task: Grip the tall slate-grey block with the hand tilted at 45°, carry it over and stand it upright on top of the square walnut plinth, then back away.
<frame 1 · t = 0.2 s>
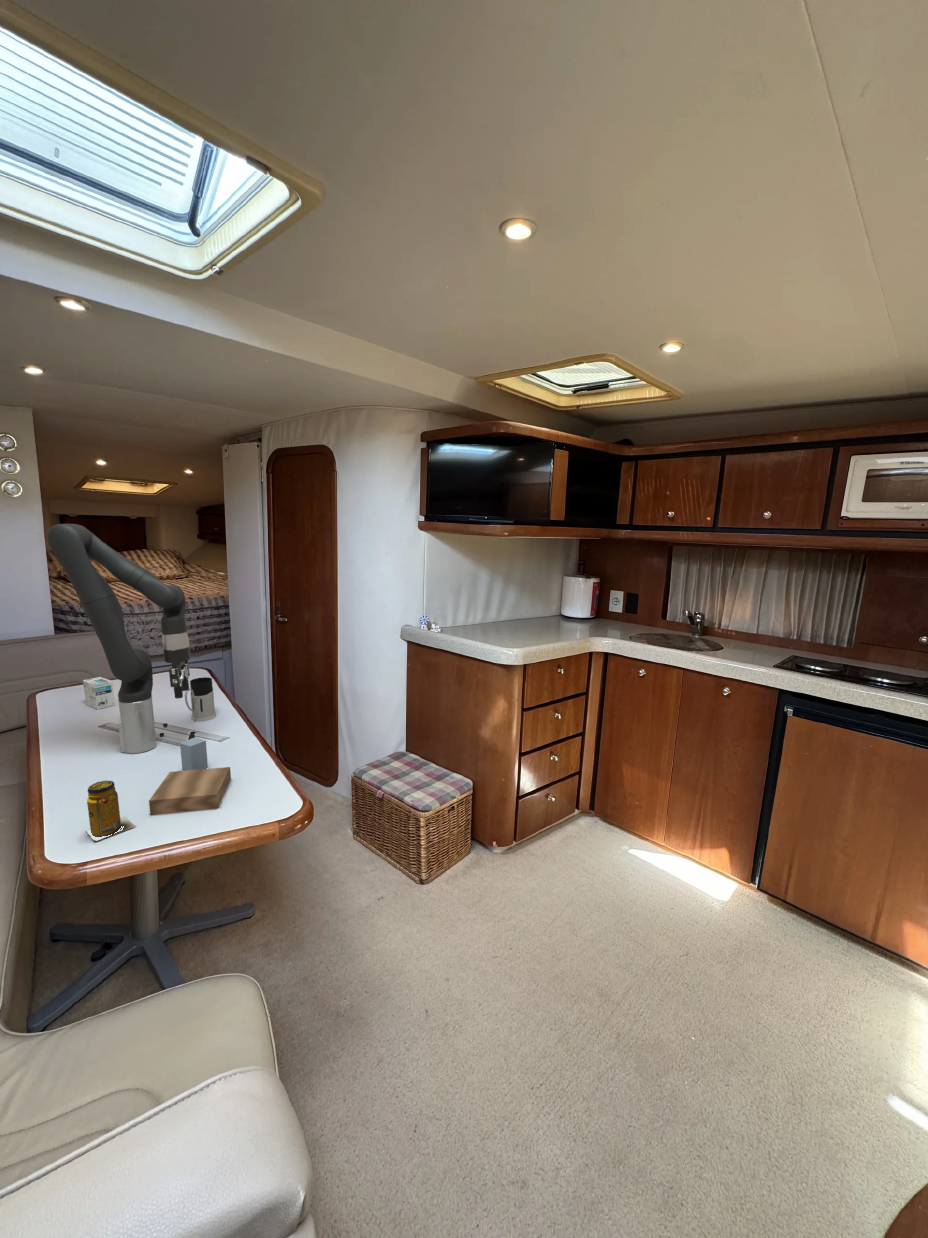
hand: (182, 694, 170), 18 cm above the table, tool pointing down, fingers open, 8 cm apart
light bulb box: (100, 705, 210), on the table
walnut plinth: (193, 796, 140), on the table
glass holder: (199, 720, 196), on the table
slate block: (195, 769, 156), on the table
condiment: (110, 830, 125), on the table
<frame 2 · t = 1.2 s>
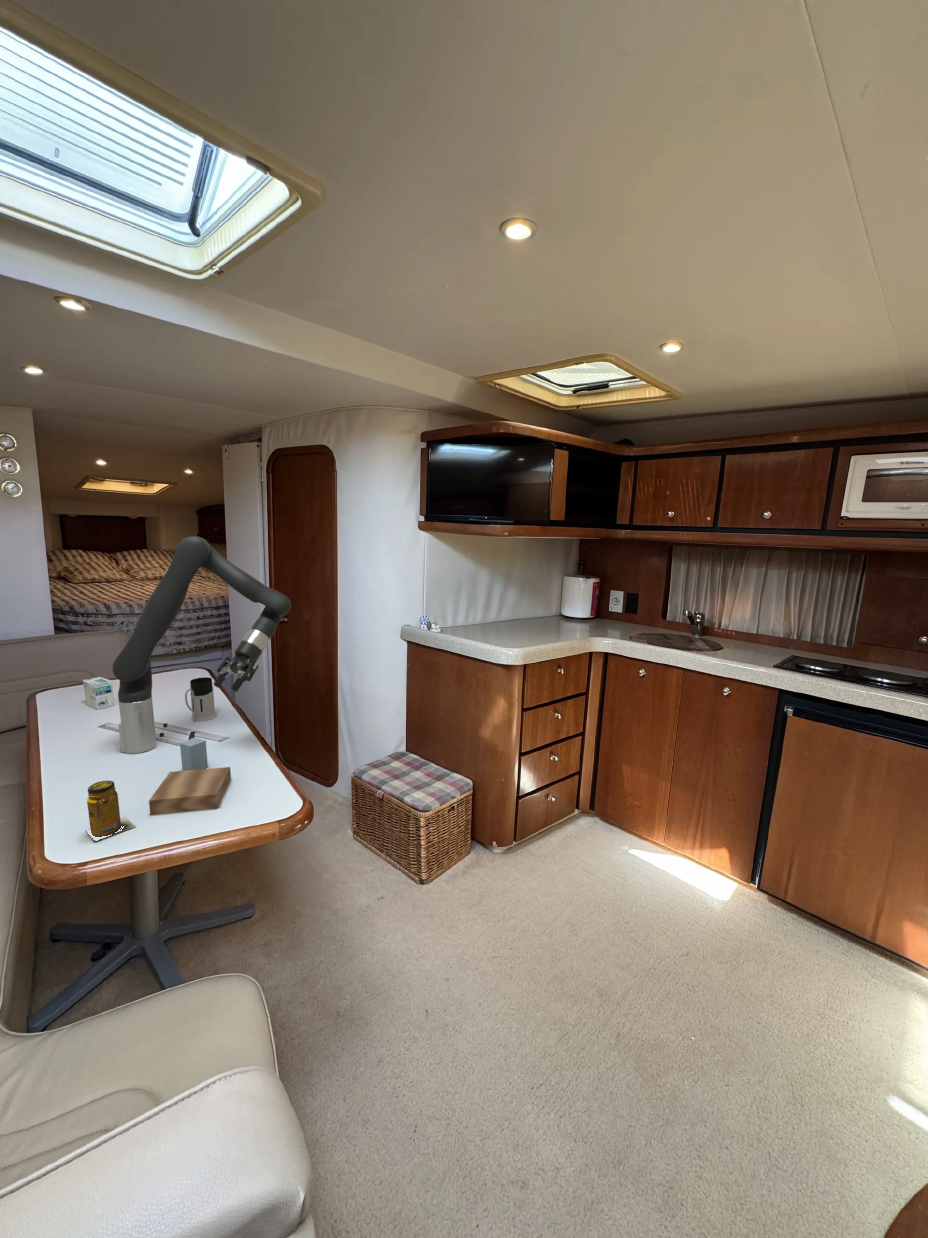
hand: (224, 688, 162), 23 cm above the table, tool tilted 45°, fingers open, 8 cm apart
nothing on the table moved.
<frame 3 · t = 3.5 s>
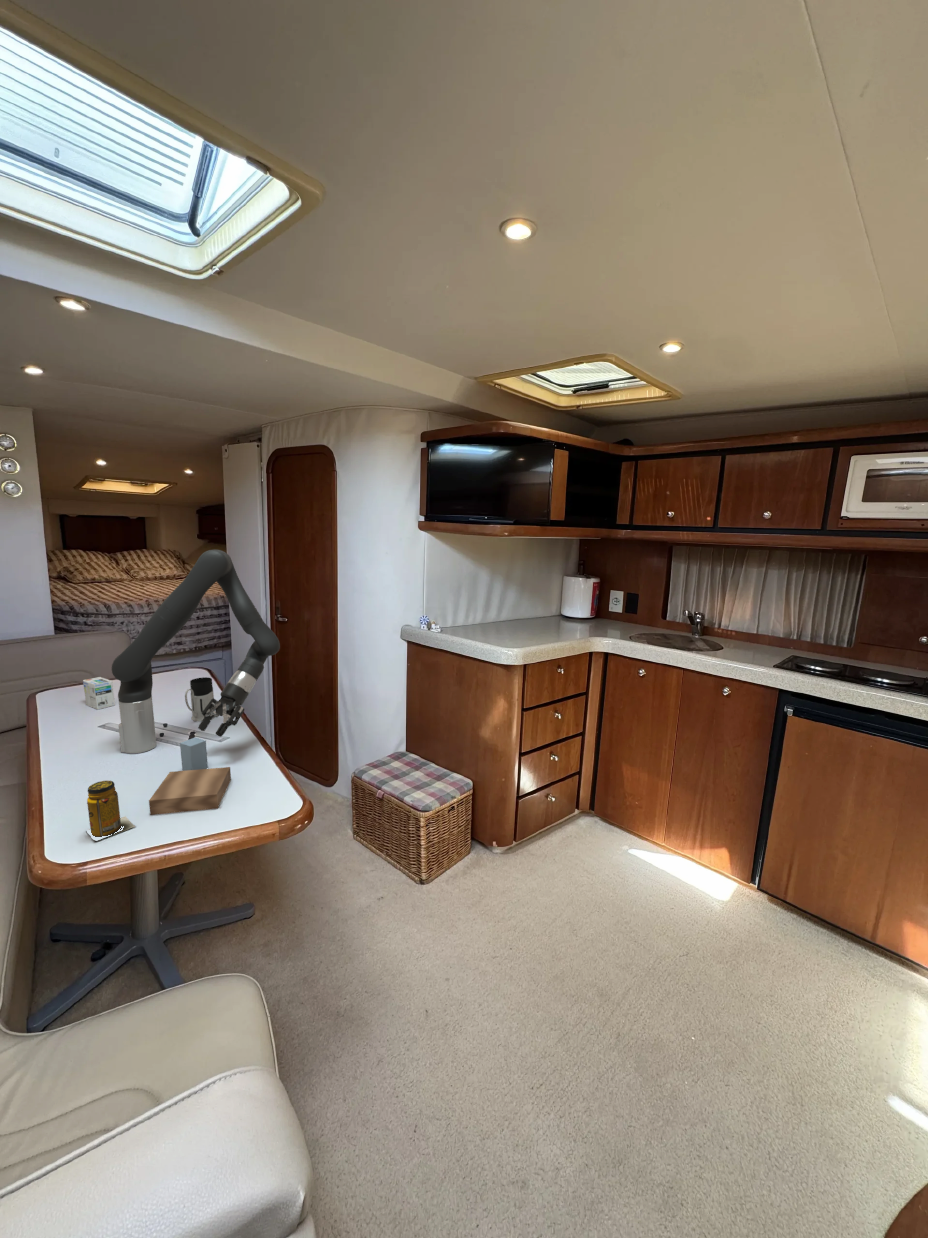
hand: (209, 732, 159), 10 cm above the table, tool tilted 45°, fingers open, 8 cm apart
nothing on the table moved.
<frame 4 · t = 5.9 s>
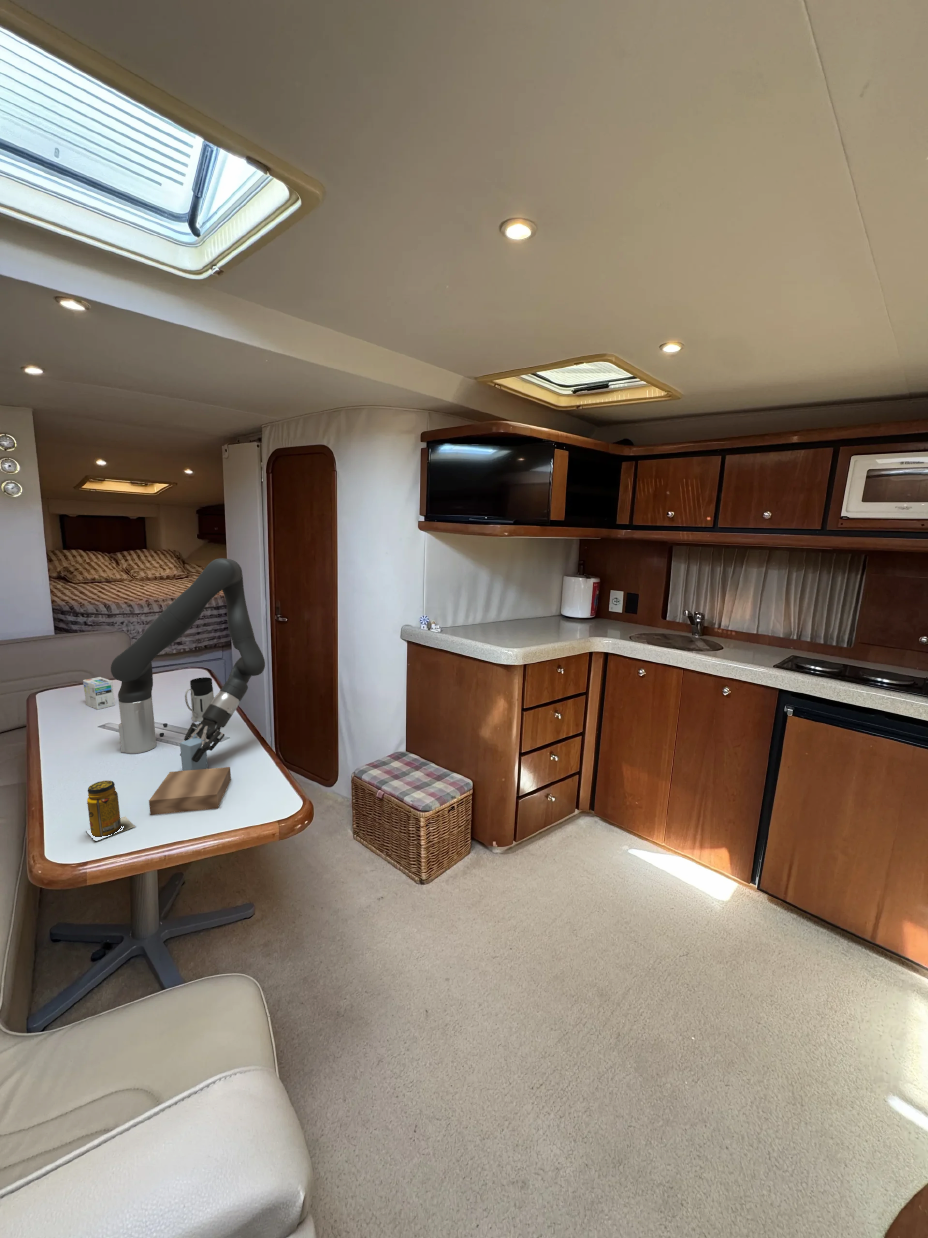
hand: (188, 758, 154), 4 cm above the table, tool tilted 45°, fingers closed on slate block, 5 cm apart
slate block: (195, 769, 156), on the table, touching gripper
everything else where it was.
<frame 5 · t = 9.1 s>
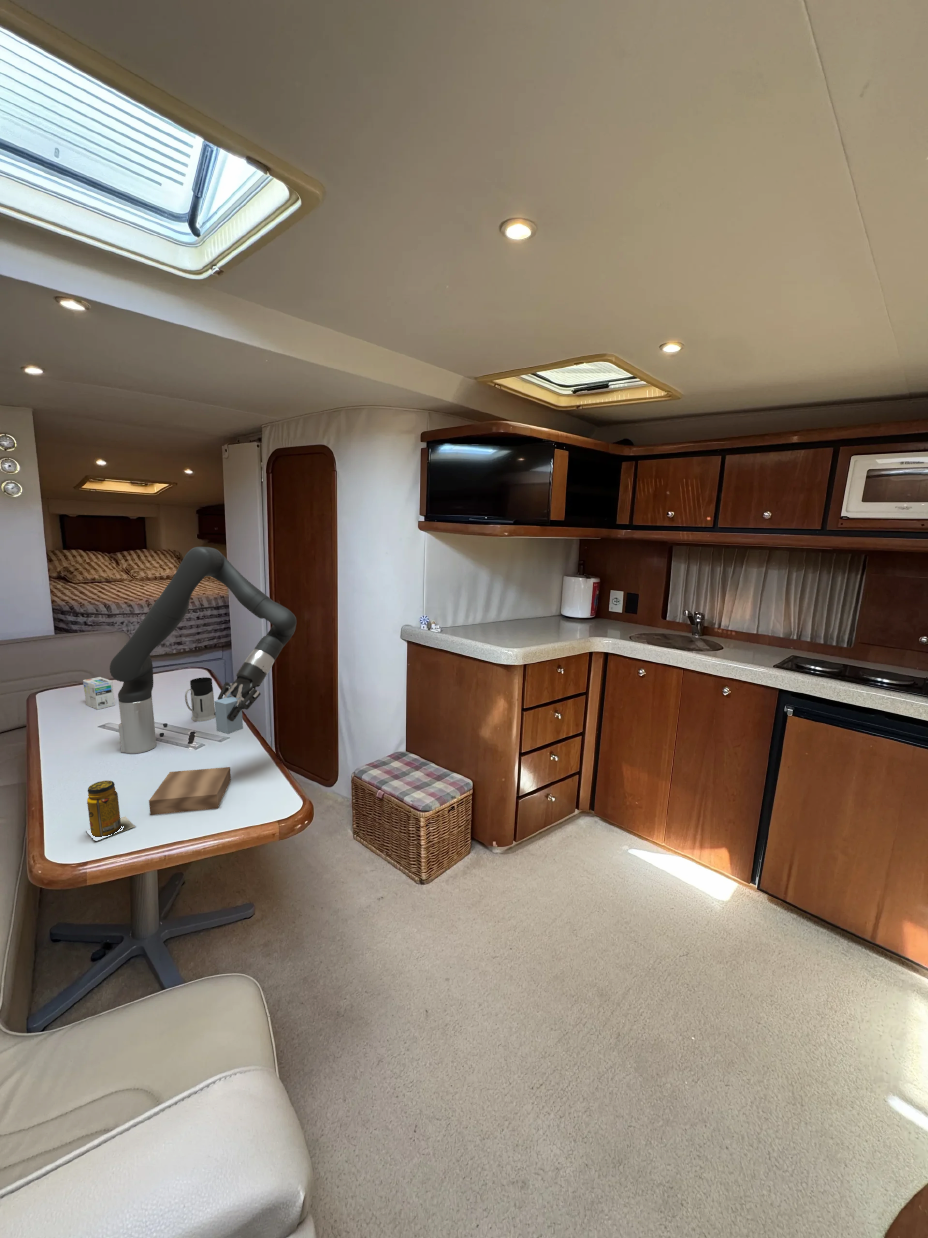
hand: (223, 718, 146), 19 cm above the table, tool tilted 45°, fingers closed on slate block, 5 cm apart
slate block: (230, 729, 149), point 15 cm above the table, touching gripper
everything else where it was.
when the fingers open (10 cm above the table, at t = 12.3 s): slate block drops 1 cm, resting on walnut plinth.
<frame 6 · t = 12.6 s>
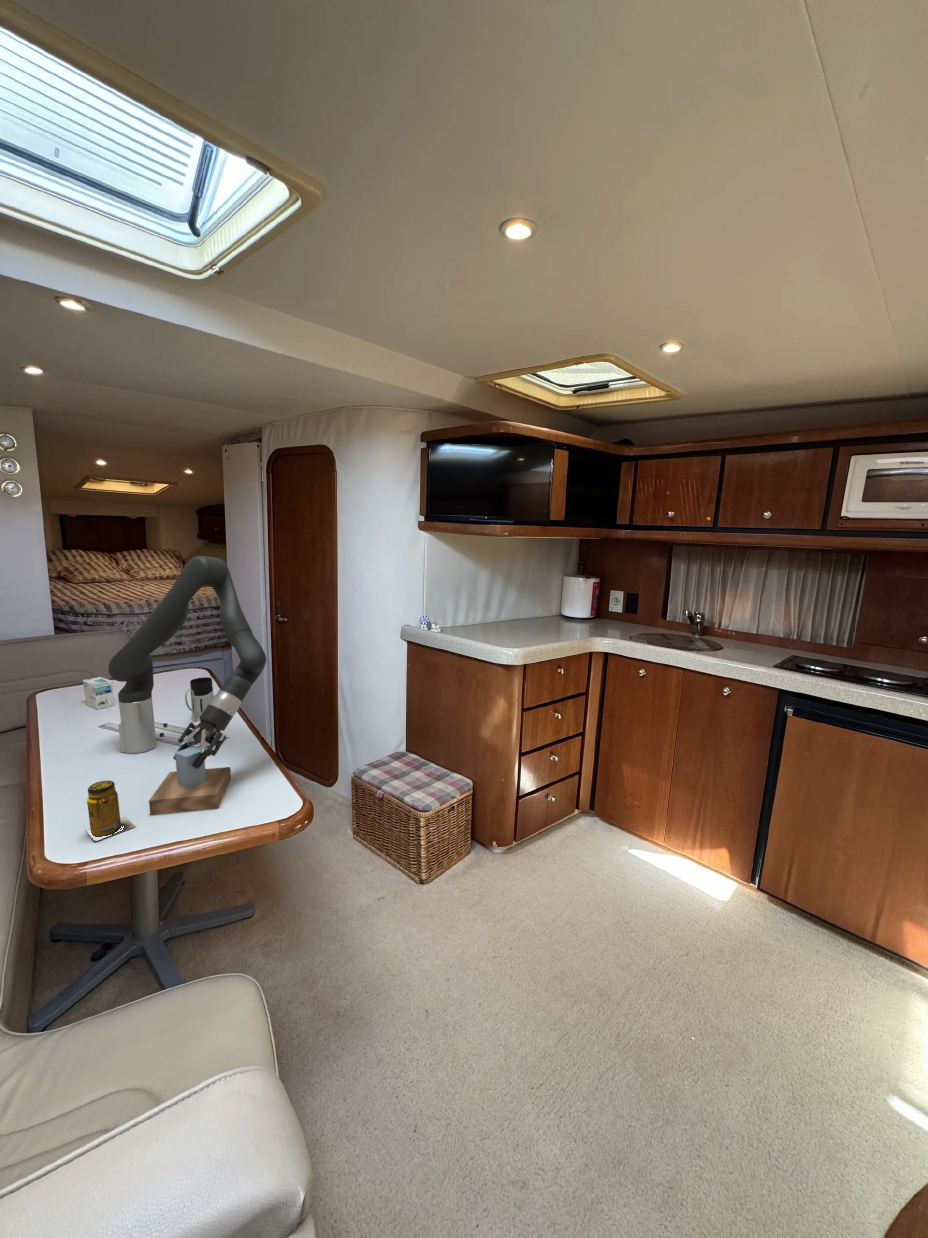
hand: (185, 764, 137), 10 cm above the table, tool tilted 45°, fingers open, 7 cm apart
slate block: (192, 782, 140), point 4 cm above the table, touching walnut plinth
everything else where it was.
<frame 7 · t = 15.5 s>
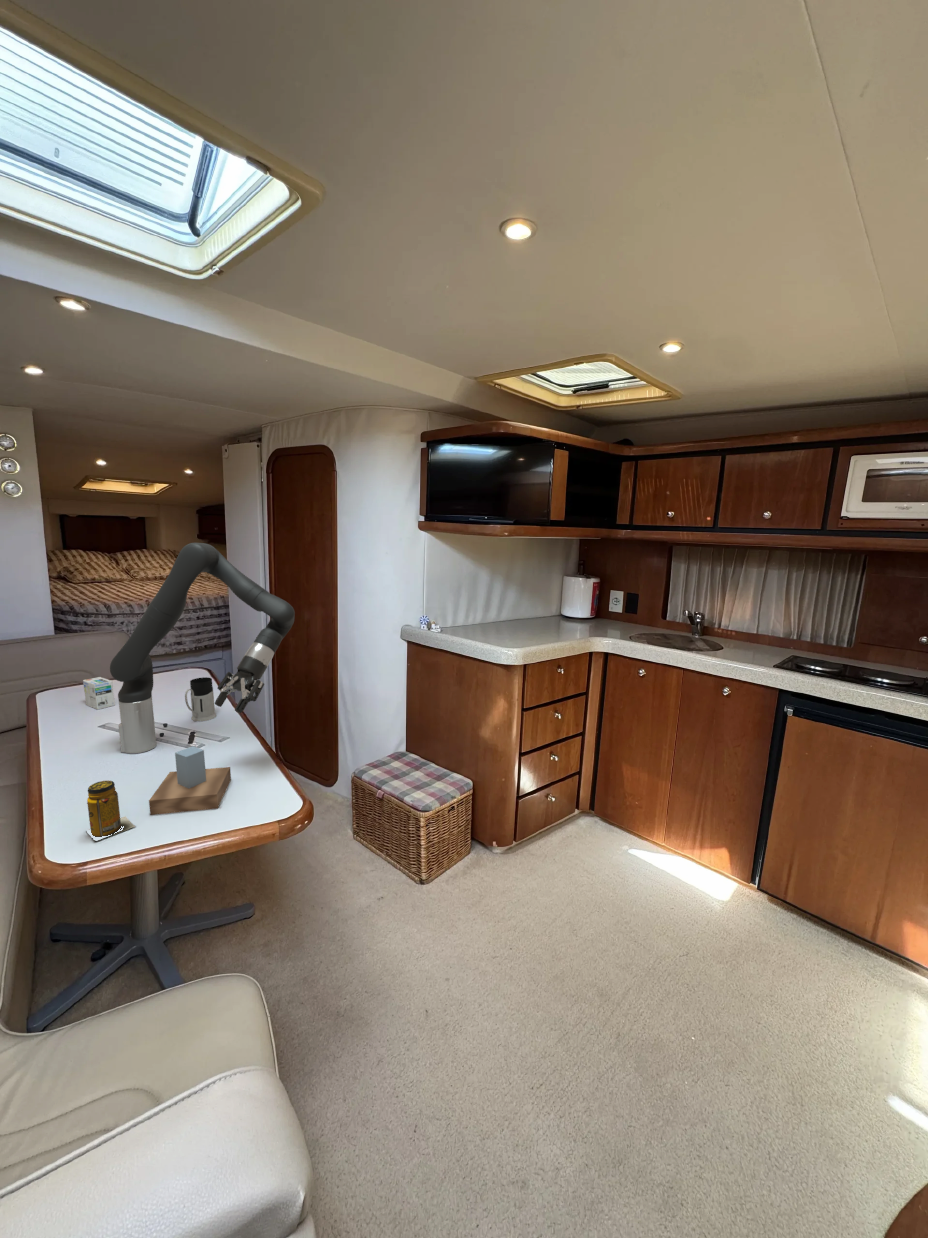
hand: (227, 708, 149), 21 cm above the table, tool tilted 40°, fingers open, 8 cm apart
nothing on the table moved.
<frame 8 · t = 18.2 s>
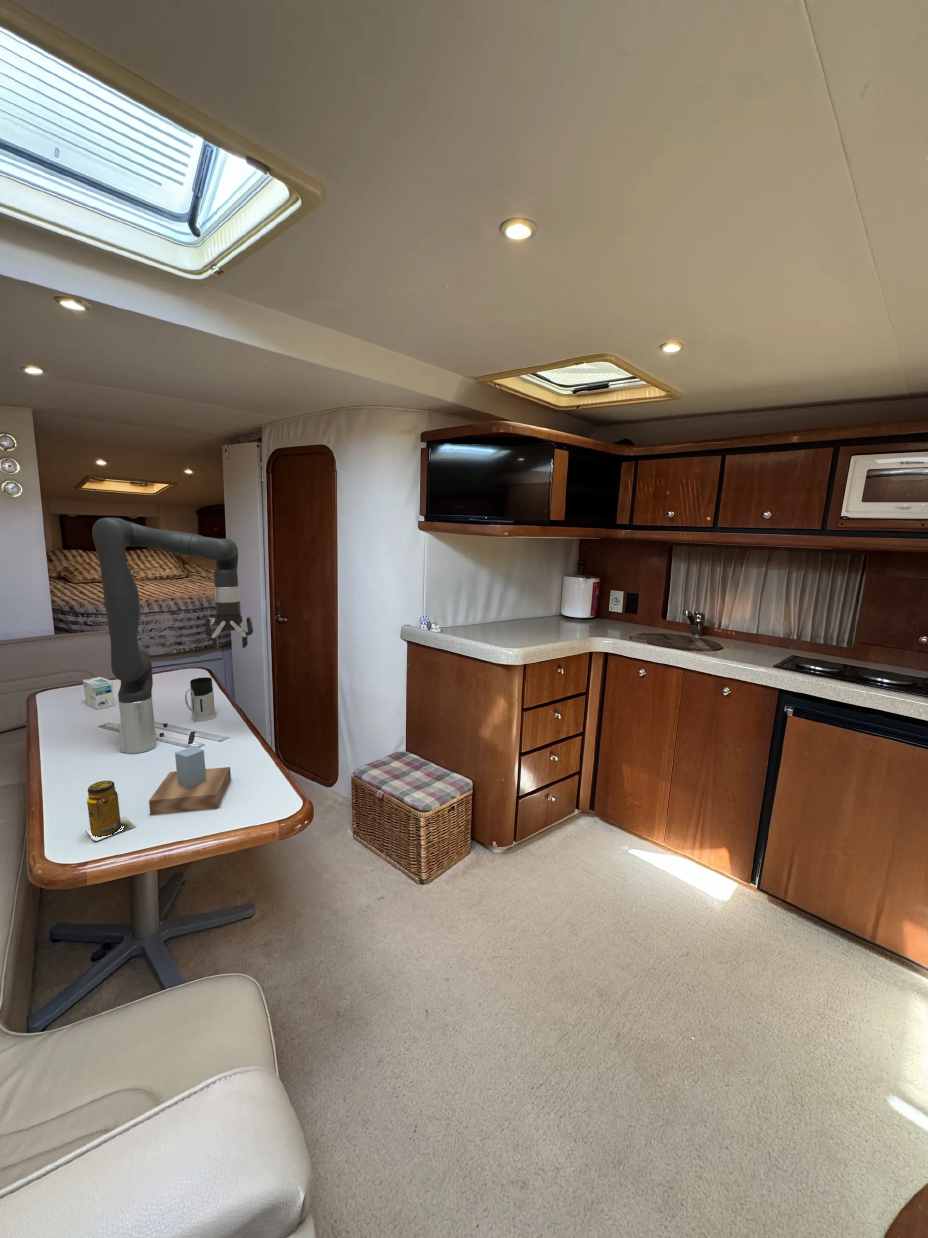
hand: (230, 647, 171), 33 cm above the table, tool pointing down, fingers open, 8 cm apart
nothing on the table moved.
at the end: slate block inside the target area on the walnut plinth (0.2 cm from its centre), point 4.0 cm above the walnut plinth's base; slate block tilted 0°; slate block touching walnut plinth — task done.
